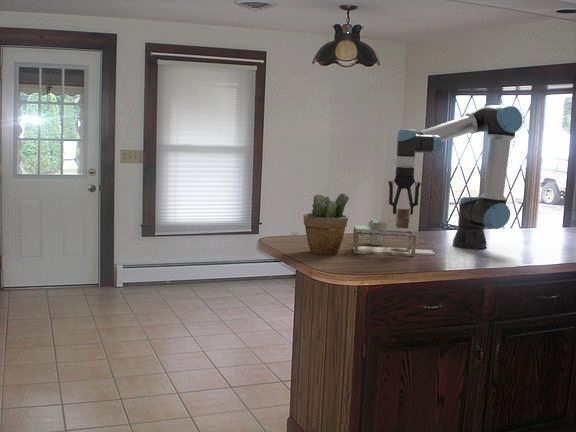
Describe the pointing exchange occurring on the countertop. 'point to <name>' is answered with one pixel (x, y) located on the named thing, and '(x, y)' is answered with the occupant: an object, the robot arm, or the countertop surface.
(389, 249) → the grey rectangular frame
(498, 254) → the countertop surface
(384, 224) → the mug
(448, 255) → the countertop surface
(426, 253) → the coaster
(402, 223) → the block
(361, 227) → the cover
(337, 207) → the potted plant
